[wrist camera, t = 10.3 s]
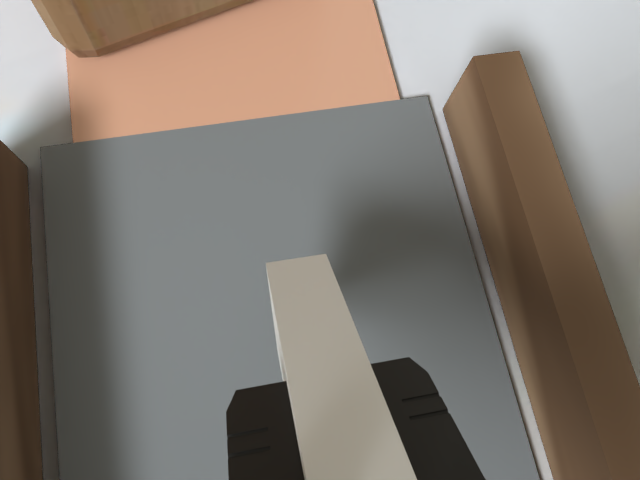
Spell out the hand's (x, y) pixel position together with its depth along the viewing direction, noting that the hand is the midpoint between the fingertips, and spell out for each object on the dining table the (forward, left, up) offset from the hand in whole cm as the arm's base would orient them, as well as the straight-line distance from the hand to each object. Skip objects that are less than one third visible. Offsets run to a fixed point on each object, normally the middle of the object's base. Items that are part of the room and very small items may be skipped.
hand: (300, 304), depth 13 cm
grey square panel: (+1, +1, -3) cm, 3 cm away
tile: (+1, -13, -3) cm, 13 cm away
